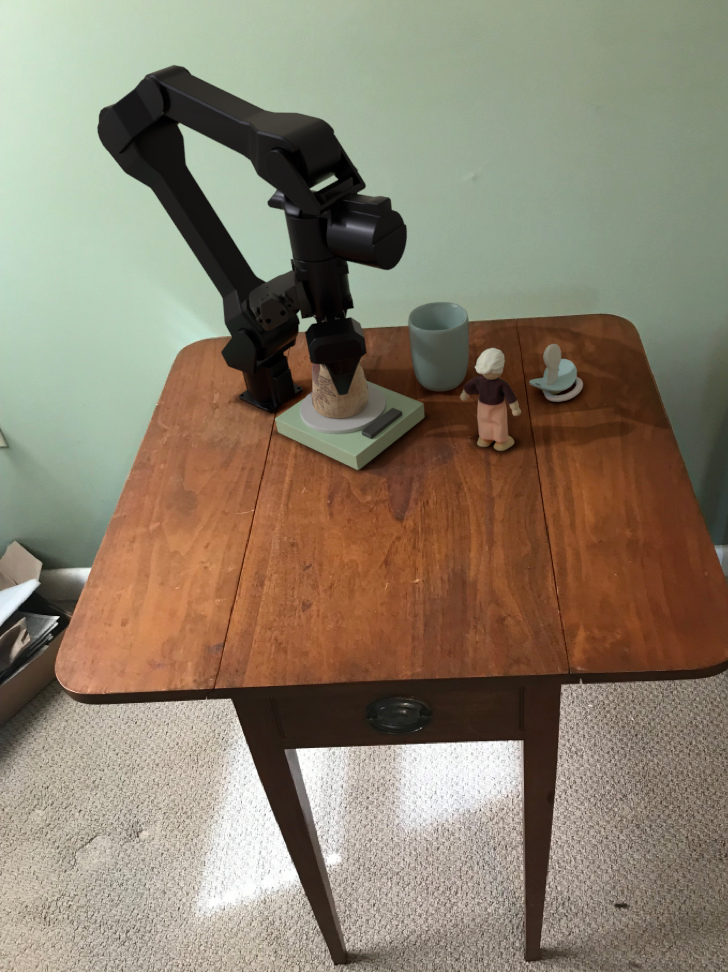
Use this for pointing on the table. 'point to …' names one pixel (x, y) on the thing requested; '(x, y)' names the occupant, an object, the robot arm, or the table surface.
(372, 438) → the kitchen scale
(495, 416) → the grandmother figurine
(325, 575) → the table surface
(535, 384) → the pacifier
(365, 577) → the table surface
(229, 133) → the robot arm
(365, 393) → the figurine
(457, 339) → the cup
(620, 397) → the table surface
